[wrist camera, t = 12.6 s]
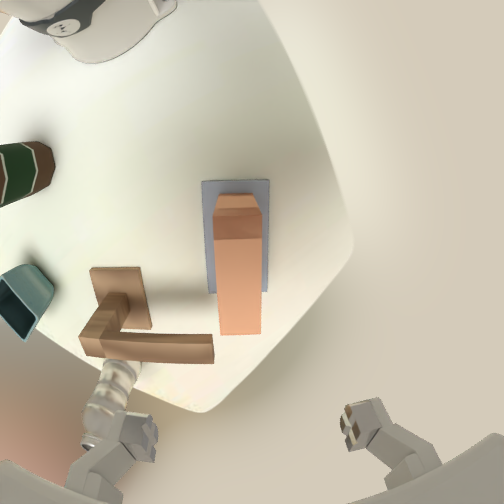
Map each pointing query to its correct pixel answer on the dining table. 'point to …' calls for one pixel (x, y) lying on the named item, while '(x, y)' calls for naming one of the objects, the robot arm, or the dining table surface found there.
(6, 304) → the flower pot
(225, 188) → the felt mat
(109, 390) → the plastic bottle
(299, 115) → the dining table surface
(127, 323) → the brown wooden angular piece
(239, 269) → the c link
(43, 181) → the beer bottle
